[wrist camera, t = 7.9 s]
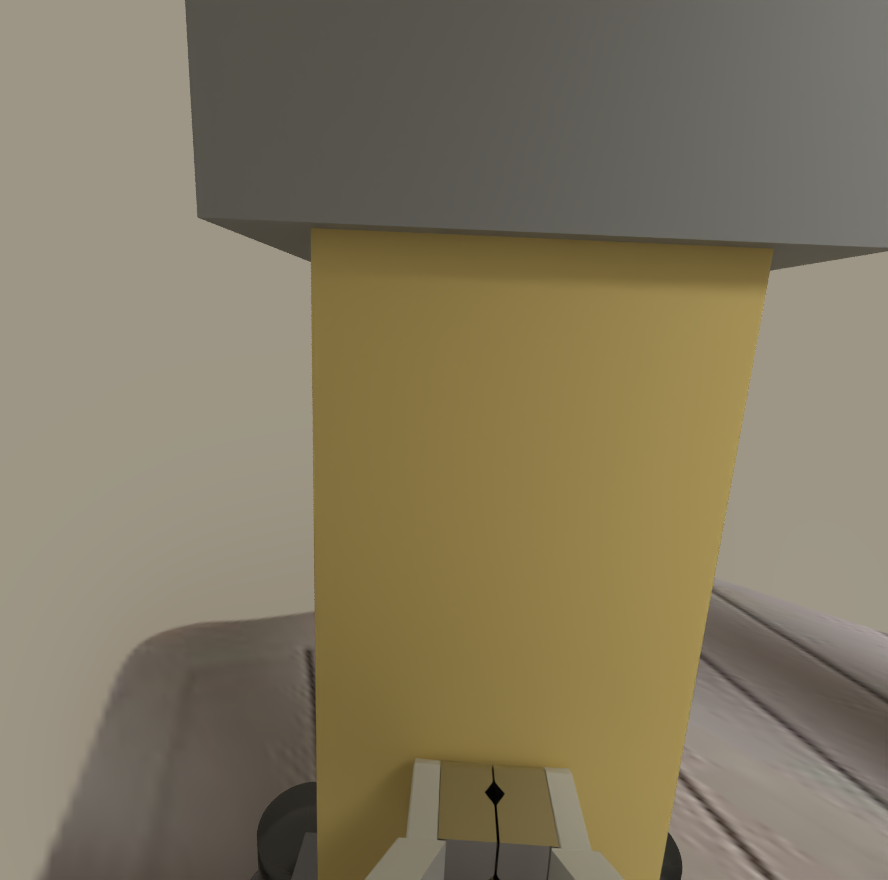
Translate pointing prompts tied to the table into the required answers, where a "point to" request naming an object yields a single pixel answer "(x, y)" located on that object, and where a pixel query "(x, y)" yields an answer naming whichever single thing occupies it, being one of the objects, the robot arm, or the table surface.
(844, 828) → the table surface
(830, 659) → the table surface
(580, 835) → the robot arm
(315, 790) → the levelling base
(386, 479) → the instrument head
